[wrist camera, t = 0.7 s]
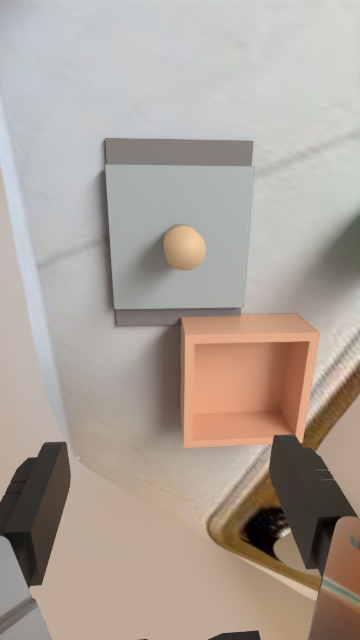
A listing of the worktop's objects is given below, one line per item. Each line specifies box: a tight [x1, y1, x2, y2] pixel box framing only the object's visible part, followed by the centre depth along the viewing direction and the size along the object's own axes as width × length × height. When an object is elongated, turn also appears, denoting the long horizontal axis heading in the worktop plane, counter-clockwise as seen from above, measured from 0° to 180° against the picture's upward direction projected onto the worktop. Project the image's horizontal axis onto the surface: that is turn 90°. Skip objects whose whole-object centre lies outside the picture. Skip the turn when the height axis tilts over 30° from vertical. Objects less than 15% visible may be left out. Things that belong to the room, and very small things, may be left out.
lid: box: [105, 165, 255, 309], centre depth 27 cm, size 12×12×6 cm
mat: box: [105, 138, 253, 326], centre depth 30 cm, size 16×12×1 cm
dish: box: [180, 314, 320, 448], centre depth 33 cm, size 12×12×5 cm
